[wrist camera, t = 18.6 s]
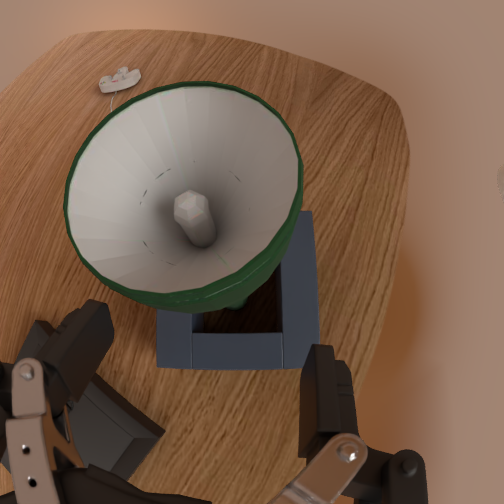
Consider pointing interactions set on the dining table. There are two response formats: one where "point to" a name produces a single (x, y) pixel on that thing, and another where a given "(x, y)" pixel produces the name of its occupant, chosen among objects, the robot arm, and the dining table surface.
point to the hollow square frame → (253, 344)
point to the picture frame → (100, 420)
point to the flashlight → (186, 196)
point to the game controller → (119, 81)
